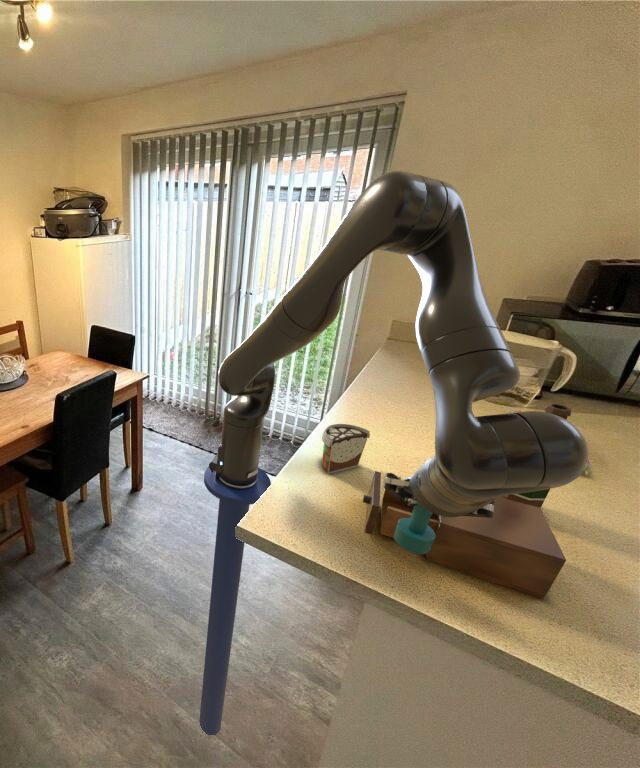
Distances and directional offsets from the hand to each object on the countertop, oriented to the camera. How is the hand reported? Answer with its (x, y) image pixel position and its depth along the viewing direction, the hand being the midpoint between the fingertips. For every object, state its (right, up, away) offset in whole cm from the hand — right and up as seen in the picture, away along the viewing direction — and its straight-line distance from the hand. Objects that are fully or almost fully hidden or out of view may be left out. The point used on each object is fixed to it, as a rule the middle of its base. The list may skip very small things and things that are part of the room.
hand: (421, 503), depth 66 cm
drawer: (+6, -8, +13) cm, 17 cm away
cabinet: (+16, -12, +8) cm, 21 cm away
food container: (+3, 0, +35) cm, 35 cm away
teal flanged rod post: (-1, -7, +1) cm, 7 cm away
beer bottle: (+34, -6, +19) cm, 40 cm away
